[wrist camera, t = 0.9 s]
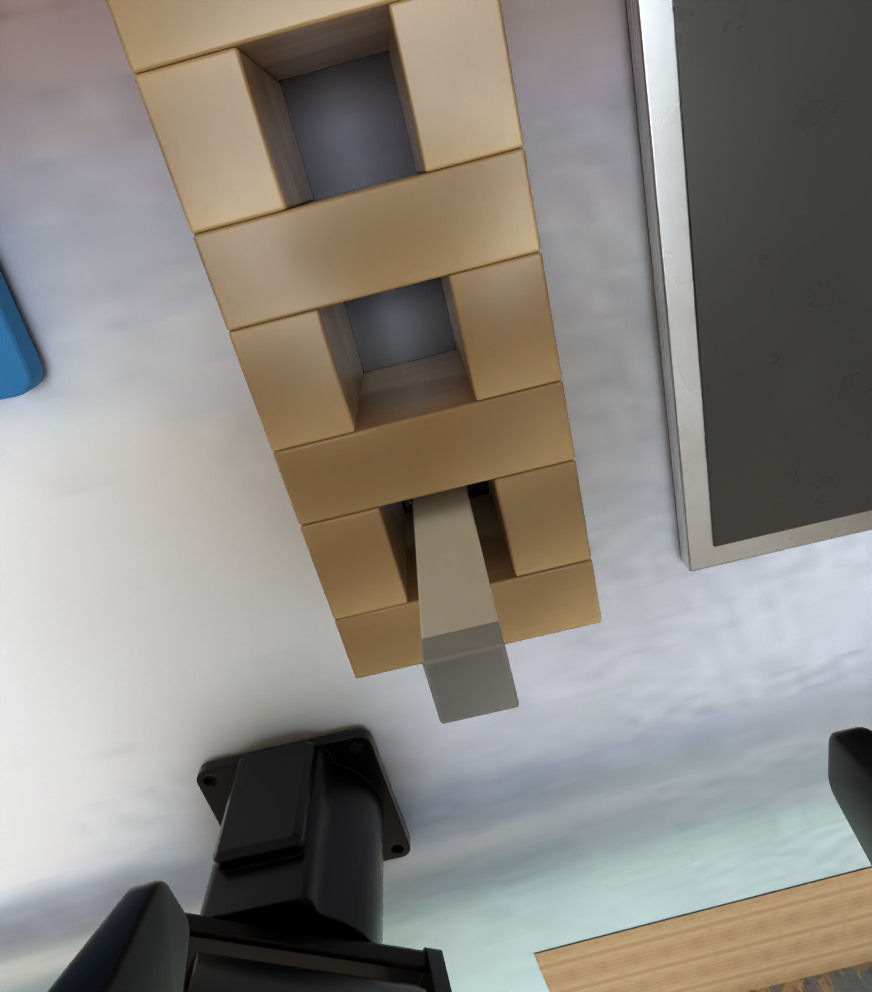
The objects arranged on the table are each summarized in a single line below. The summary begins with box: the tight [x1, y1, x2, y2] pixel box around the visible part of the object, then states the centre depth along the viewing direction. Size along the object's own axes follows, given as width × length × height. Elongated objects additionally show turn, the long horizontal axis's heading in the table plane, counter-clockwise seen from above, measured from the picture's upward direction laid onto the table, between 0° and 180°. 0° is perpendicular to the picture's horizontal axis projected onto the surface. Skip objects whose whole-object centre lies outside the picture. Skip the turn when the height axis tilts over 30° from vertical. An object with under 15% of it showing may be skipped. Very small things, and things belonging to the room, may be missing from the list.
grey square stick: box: [412, 486, 519, 724], centre depth 16 cm, size 1×1×10 cm
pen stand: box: [106, 0, 601, 678], centre depth 17 cm, size 16×6×5 cm, turn 13°
